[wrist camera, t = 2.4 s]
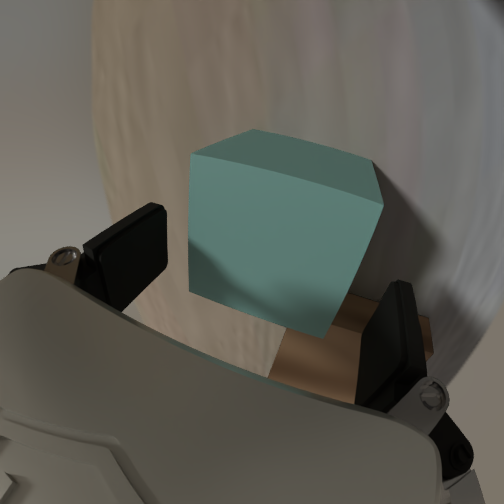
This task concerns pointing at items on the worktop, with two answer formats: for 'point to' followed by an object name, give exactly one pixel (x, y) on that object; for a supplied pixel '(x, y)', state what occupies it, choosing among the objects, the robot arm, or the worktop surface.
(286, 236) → the teal cube
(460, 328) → the worktop surface
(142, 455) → the robot arm
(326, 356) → the walnut base
